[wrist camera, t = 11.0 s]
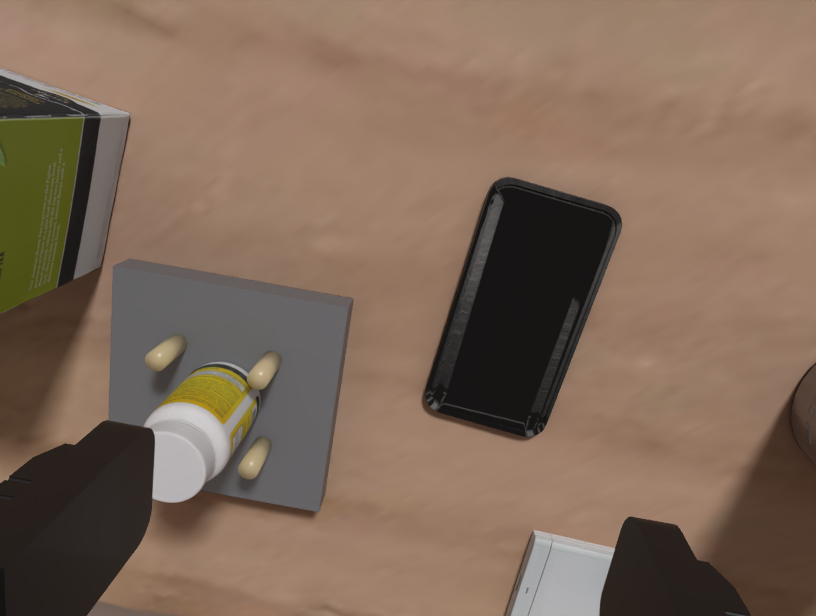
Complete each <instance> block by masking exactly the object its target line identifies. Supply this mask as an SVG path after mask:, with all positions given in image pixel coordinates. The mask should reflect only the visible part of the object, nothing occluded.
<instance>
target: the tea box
mask: <svg viewBox="0 0 816 616" xmlns="http://www.w3.org/2000/svg"><path fill="white" fill-rule="evenodd" d="M129 118H130V114H129V113H127V112H124V111H121V110H118V109H115V108H112V107H110V106H107V105H104V104H101V103H98V102H95V101H92V100H89V99H87V98H84V97H81V96H78V95H75V94H72V93H70V92H67V91H64V90H61V89H58V88H55V87H53V86H50V85H47V84H44V83H41V82H38V81H36V80H33V79H30V78H27V77H24V76H22V75H19V74H16V73H13V72H11V71H8V70H5V69H2V68H0V314H2V313H4V312H6V311H8V310H10V309H12V308H14V307H16V306H18V305H20V304H22V303H23V302H26V301H28V300H30V299H32V298H34V297H38V296H40V295H42V294H44V293H47V292H49V291H51V290H53V289H55V288H57V287H60V286H62V285H64V284H66V283H68V282H70V281H72V280H75V279H77V278H79V277H81V276H83V275H86V274H87V273H89V272H91V271H93V270H95V269H97V268H99V267H100V266H101V263H102V259H103V255H104V250H105V245H106V239H107V233H108V228H109V223H110V218H111V213H112V207H113V202H114V197H115V192H116V187H117V182H118V177H119V172H120V167H121V161H122V156H123V152H124V146H125V140H126V135H127V129H128V122H129Z"/></svg>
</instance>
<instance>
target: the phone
mask: <svg viewBox="0 0 816 616" xmlns="http://www.w3.org/2000/svg"><path fill="white" fill-rule="evenodd" d="M621 228H622V220H621V217H620V215H619V213H618V212H617V211H616V210H615V209H613V208H612V207H610V206H608V205H605V204H602V203H599V202H595V201H592V200H588V199H585V198H582V197H578V196H575V195H571V194H568V193H564V192H561V191H558V190H554V189H551V188H547V187H544V186H541V185H537V184H534V183H530V182H527V181H523V180H520V179H517V178H512V177H505V178H501V179H499V180H497V181H495V182H494V183H493V185H492V186H491V187H490V189H489V191H488V194H487V197H486V200H485V203H484V207H483V210H482V213H481V216H480V219H479V223H478V226H477V229H476V232H475V235H474V238H473V242H472V245H471V248H470V251H469V254H468V257H467V261H466V264H465V267H464V270H463V273H462V276H461V280H460V283H459V286H458V289H457V292H456V296H455V299H454V302H453V305H452V308H451V311H450V315H449V318H448V321H447V324H446V327H445V330H444V334H443V337H442V340H441V343H440V346H439V349H438V353H437V356H436V359H435V362H434V365H433V369H432V372H431V375H430V378H429V381H428V384H427V389H426V400H427V403H428V404H429V406H430V407H431V408H432V409H433V410H435V411H437V412H439V413H443V414H446V415H450V416H453V417H457V418H460V419H464V420H467V421H471V422H474V423H478V424H481V425H485V426H488V427H492V428H495V429H499V430H502V431H506V432H509V433H513V434H516V435H520V436H525V437H531V436H535V435H537V434H539V433H540V432H542V431H543V430H544V428H545V426H546V424H547V422H548V419H549V416H550V414H551V411H552V409H553V406H554V403H555V401H556V398H557V396H558V393H559V390H560V388H561V385H562V383H563V380H564V377H565V375H566V372H567V370H568V367H569V365H570V362H571V359H572V357H573V354H574V352H575V349H576V346H577V344H578V341H579V339H580V336H581V333H582V331H583V328H584V326H585V323H586V320H587V318H588V315H589V313H590V310H591V307H592V305H593V302H594V300H595V297H596V295H597V292H598V289H599V287H600V284H601V282H602V279H603V276H604V274H605V271H606V269H607V266H608V263H609V261H610V258H611V256H612V253H613V250H614V248H615V245H616V243H617V240H618V237H619V235H620V232H621Z"/></svg>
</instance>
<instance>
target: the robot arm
mask: <svg viewBox="0 0 816 616" xmlns="http://www.w3.org/2000/svg"><path fill="white" fill-rule="evenodd" d="M791 424H792V428H793V432H794V436H795V438H796V440H797V442H798V444H799V446H800V448H801V449H802V450H803V451H804V452H805V453H806V455H807V456H808V457H809V458H810V459H811V460H812V461H813V462H814V463H815V464H816V365H815V366H814V367H813V368H812V369H811V370H810V371H809V373H808V374H807V375H806V376H805V378H804V379H803V380H802V382H801V384H800V386H799V388H798V390H797V392H796V394H795V398H794V402H793V405H792V416H791ZM154 454H155V435H154V432H153V430H152V429H151V428H147V427H142V426H136V425H131V424H125V423H120V422H114V421H109V420H106V421H103V422H102V423H100V424H99V425H98V426H97V427H96V428H94V429H93V430H92V431H91V432H90V433H89V434H87V435H86V436H85V437H84V438H83V439H82V440H80V441H79V442H78V443H77V444H76V445H71V444H63V445H61V446H58V447H56V448H54V449H51V450H49V451H47V452H44V453H42V454H40V455H37V456H35V457H33V458H32V459H30V460H29V461H28V462H27V463H25V464H24V465H23V466H22V467H20V468H19V469H18V470H17V471H15V472H14V473H13V474H12V475H10V476H9V480H8V481H7V480H4V481H3V482H2V483H0V616H87V615H88V613H89V612H90V611H91V609H92V608H93V606H94V605H95V604H96V602H97V601H98V600H99V598H100V597H101V596H102V594H103V593H104V592H105V590H106V589H107V588H108V586H109V585H110V584H111V582H112V581H113V580H114V578H115V577H116V576H117V574H118V573H119V571H120V570H121V569H122V567H123V566H124V565H125V563H126V562H127V561H128V559H129V558H130V557H131V555H132V554H133V553H134V551H135V550H136V549H137V547H138V546H139V544H140V542H141V541H142V539H143V537H144V535H145V532H146V530H147V527H148V524H149V520H150V516H151V510H152V495H153V474H154ZM750 615H751V614H750V613H749V611H748V609H747V608H746V606H745V604H744V603H743V601H742V599H741V598H740V596H739V594H738V593H737V591H736V589H735V588H734V587H733V586H732V585H731V584H730V583H729V582H728V581H727V580H726V579H725V578H724V577H723V576H722V575H721V574H720V573H719V572H718V571H717V570H716V569H714V568H713V567H712V566H711V565H710V564H709V563H708V562H703V561H697V559H696V557H695V555H694V554H693V552H692V550H691V548H690V546H689V544H688V543H687V541H686V539H685V537H684V535H683V533H682V532H681V530H680V528H679V527H678V526H677V525H674V524H669V523H663V522H658V521H652V520H647V519H641V518H636V517H628V518H627V519H626V520H625V522H624V523H623V525H622V528H621V531H620V534H619V538H618V541H617V544H616V548H615V551H614V554H613V557H612V561H611V564H610V567H609V570H608V574H607V577H606V580H605V584H604V587H603V590H602V594H601V599H600V610H599V616H750Z"/></svg>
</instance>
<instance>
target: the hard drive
mask: <svg viewBox="0 0 816 616" xmlns="http://www.w3.org/2000/svg"><path fill="white" fill-rule="evenodd" d="M614 551H615V548H611V547H607V546H602V545H598V544H593V543H589V542H585V541H580V540H576V539H572V538H567V537H563V536H558V535H554V534H550V533H545V532H541V531H537V530H533V533H532V536H531V539H530V542H529V545H528V548H527V551H526V554H525V557H524V560H523V564H522V567H521V570H520V573H519V576H518V579H517V582H516V585H515V588H514V591H513V594H512V597H511V600H510V603H509V606H508V609H507V612H506V615H505V616H599V610H600V599H601V594H602V590H603V587H604V584H605V580H606V577H607V574H608V570H609V567H610V564H611V561H612V557H613V554H614Z"/></svg>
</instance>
